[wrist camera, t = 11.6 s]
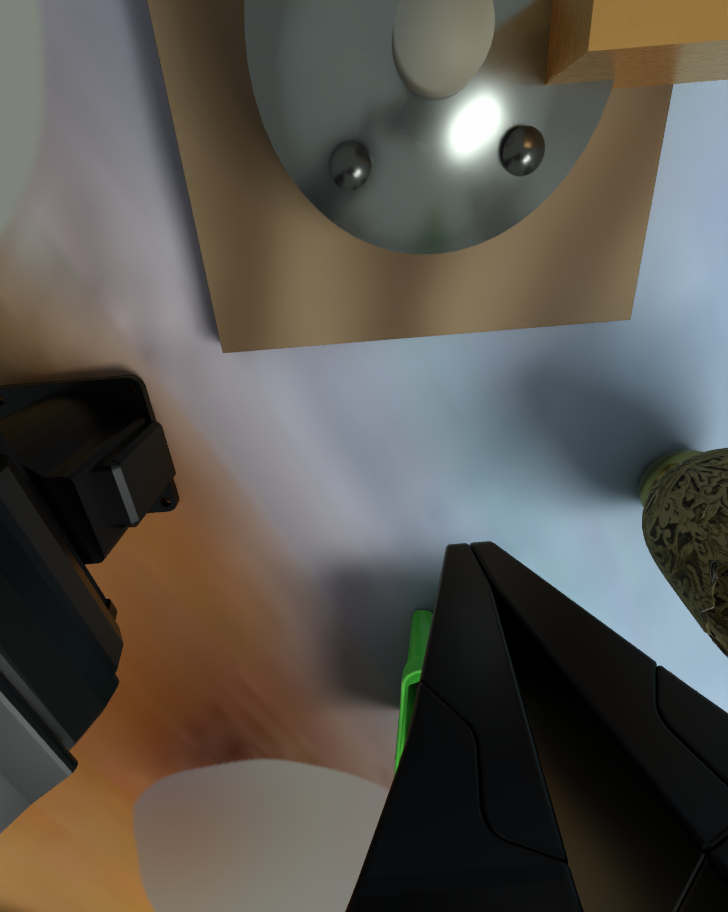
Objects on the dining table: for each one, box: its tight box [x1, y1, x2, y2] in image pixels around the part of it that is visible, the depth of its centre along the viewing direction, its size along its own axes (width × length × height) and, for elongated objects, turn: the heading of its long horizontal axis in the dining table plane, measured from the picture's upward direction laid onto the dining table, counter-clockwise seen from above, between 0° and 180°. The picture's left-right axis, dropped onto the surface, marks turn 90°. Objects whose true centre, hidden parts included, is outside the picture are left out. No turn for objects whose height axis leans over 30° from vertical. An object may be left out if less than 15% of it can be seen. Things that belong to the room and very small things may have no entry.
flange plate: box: [244, 0, 728, 254], centre depth 11 cm, size 14×10×3 cm
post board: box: [147, 0, 673, 353], centre depth 13 cm, size 16×15×5 cm
